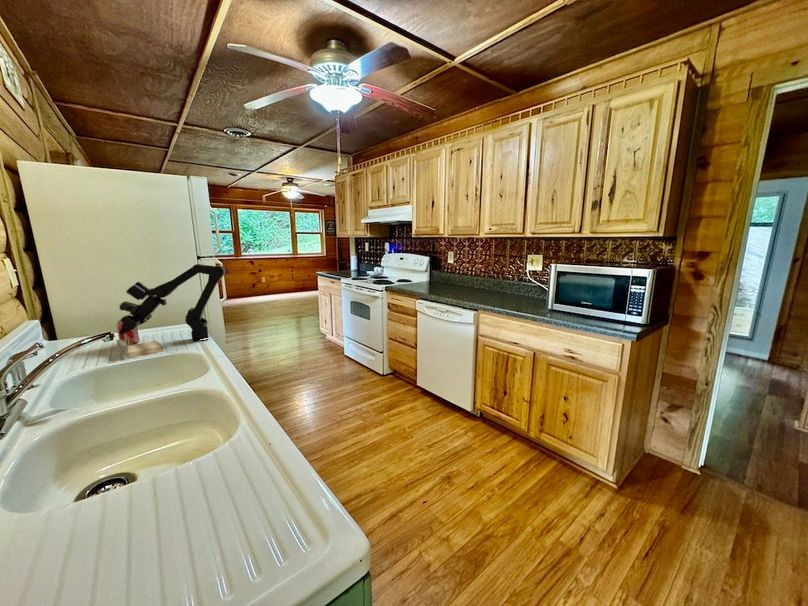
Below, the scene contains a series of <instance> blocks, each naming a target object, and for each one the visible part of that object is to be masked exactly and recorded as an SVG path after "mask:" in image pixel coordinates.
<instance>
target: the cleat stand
mask: <svg viewBox="0 0 808 606" xmlns="http://www.w3.org/2000/svg"><path fill="white" fill-rule="evenodd" d="M116 344H117V349H118V354H119V355H120V356H121V357H122V358H123V359H124V360H129V359H134V358H139V357H143V356H146V355H151V354H157V353H161V352H164V345H162V344H161V343H160V342H159V341H157V340H151V341H145V342H142V343H138V344H136V345H131V346H127V344H126V343H125V342H124V341H122V340H119V339H117V340H116Z"/></svg>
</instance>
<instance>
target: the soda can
mask: <svg viewBox="0 0 808 606" xmlns="http://www.w3.org/2000/svg"><path fill="white" fill-rule="evenodd" d="M120 320H121V319H120ZM120 320H118V321H117V324H116V330H117V334H118V340H122V341H124V342H125V343H126V344H127V346H131V345H136V344H140V337H139V331H138V327H136V328H134V329H132V330H130V331H128V332H126V333H124V334H122V335H121V334H120V331H121V329H122V327H123V325H124V323H123V322H121V321H120Z"/></svg>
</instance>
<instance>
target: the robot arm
mask: <svg viewBox="0 0 808 606" xmlns="http://www.w3.org/2000/svg"><path fill="white" fill-rule="evenodd" d="M226 273H227V270H226V268H225V266H223V265H221V264H216V265H206V264H201V263H197V264H194V265H193V266H192V267H190V268H189V269H187V270H186V271H183V272H182V273H181V274H179V275H178V276H176V277H175V278H173V279H172V280H169V281H167V282H164V283H162V284H160V285H157V286H155V287H152V288H148V287H147V286H145V285H144V284H143V283H142V282H140V281H137V282H135V283H134V284H133V285H132V286H130V287H129V288H128V289H127V290H126V291H125V293H126V294H127V295H130V296H131V297H132V298H134V299H136V301H140V300H141V301H142V302H141V303H140V304H136V303H133V302H130V301H123V302H121V303H120V305H119V306H118V307H119V310H120V311H125V312H128V313H129V314H128V315H125V316H122V317H121V318H120V321H121V322H123V323H124V325H123V327H122V329H121V331H120V334H121V335H122V334H124V333H126V332H128V331H130V330H132V329H134V328H136V327H137V328H138V327H139V326H141V325H143V324H144V323H147V322H148V321H150V320H151V318H152V316H153V315H152V314H153V313H154V312H155V310H156V309H157V308H158V307H160V305H161V306H166V305H167V304H168V303H167V299H166V297H169V296H171V295H172V293H174V292H175V291H176V290H177V289H178V287H180V286H181V285H182V284H184V283H186V282H187V281H189V280H190V279H192V278H194V277H195V276H197V275H198V274H203V275H208V278H207V279H208V280H207V283H206V284H205V287H204V289H203V291H202V293H201V294H200V296H199V299H198V301H197V303H196V305H194V306H195V307H191V308H189V309H188V311H187V313H186V315H185V316H184V318H185V319H184V320H185V323H186V325H187V326H189V327H190V329H191V331H190V333H191V341H196V342H200V341H199V340H200V339H204V338H208V337H209V338H210V335H209V330H208V329H209V328H208V322H209V321H208V320H207V319H205V318H204V312H205V308H206V306H207V304H208V302H209V300H210V298H211V297H212V294H213V292H214V290H215V288H216V286H217V285H218V283H220V281H221V280H222V279H223V277H224V276H225V275H226Z"/></svg>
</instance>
